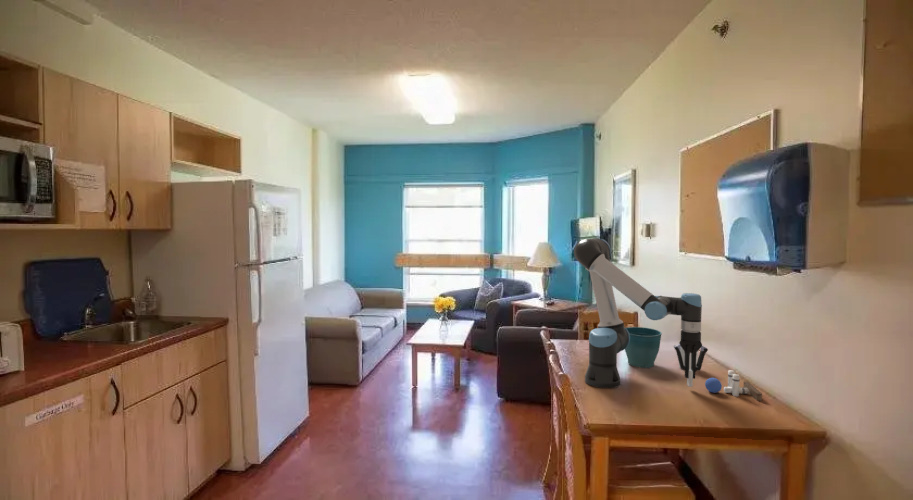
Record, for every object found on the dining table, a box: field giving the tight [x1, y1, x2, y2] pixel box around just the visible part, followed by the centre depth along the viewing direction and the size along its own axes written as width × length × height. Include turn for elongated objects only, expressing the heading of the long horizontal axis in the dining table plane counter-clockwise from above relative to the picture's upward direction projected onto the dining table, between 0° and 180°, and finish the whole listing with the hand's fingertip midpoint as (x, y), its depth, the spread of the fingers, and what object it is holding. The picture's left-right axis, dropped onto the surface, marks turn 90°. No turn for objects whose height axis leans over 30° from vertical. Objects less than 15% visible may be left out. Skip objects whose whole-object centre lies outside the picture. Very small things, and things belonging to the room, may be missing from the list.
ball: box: [704, 377, 723, 394], centre depth 185 cm, size 6×6×6 cm
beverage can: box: [678, 347, 699, 370], centre depth 215 cm, size 8×8×12 cm
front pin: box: [723, 386, 750, 395], centre depth 184 cm, size 2×2×8 cm
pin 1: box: [727, 369, 736, 387], centre depth 187 cm, size 2×2×8 cm
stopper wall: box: [742, 380, 763, 402], centre depth 183 cm, size 2×14×3 cm, turn 166°
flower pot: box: [624, 326, 663, 369], centre depth 222 cm, size 18×18×17 cm
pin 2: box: [731, 373, 740, 398], centre depth 182 cm, size 2×2×8 cm
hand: (689, 385), depth 188 cm, fingers closed
